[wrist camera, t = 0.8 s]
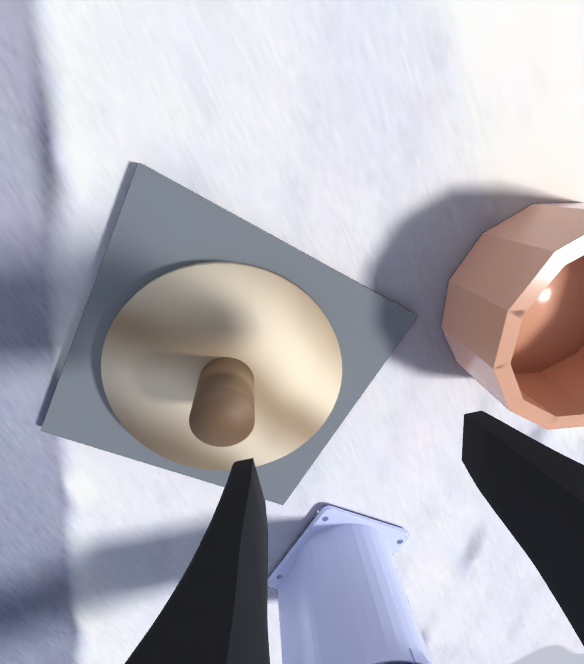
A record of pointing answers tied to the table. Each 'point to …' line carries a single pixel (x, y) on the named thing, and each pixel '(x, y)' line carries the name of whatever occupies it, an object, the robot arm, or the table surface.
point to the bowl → (524, 313)
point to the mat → (196, 247)
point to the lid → (221, 365)
